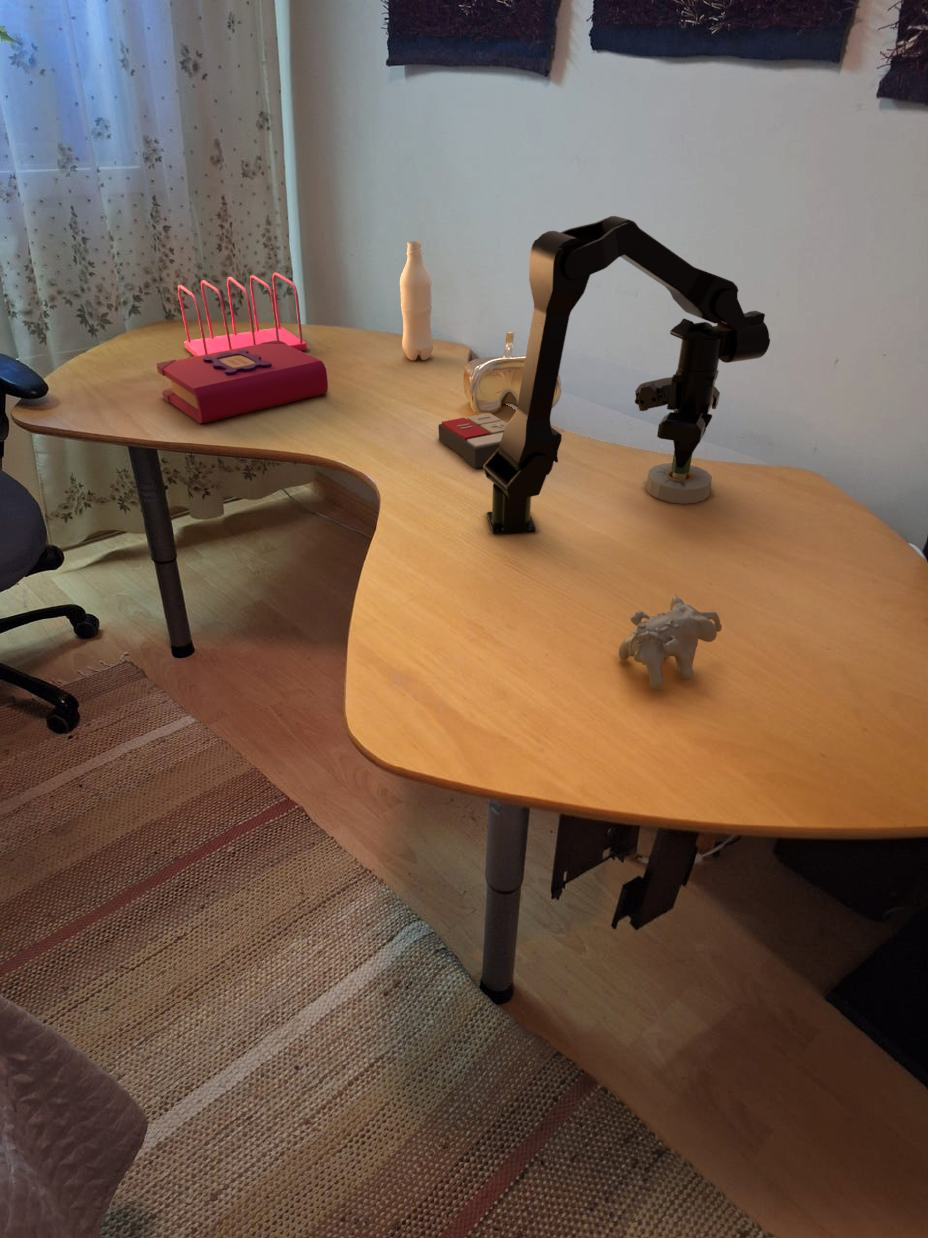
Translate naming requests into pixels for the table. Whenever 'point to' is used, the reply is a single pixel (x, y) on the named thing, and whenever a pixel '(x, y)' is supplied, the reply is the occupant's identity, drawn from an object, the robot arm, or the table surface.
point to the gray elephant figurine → (669, 639)
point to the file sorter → (239, 339)
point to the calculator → (473, 437)
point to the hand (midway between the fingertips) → (681, 463)
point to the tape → (678, 484)
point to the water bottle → (416, 305)
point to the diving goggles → (497, 381)
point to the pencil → (680, 469)
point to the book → (242, 380)
